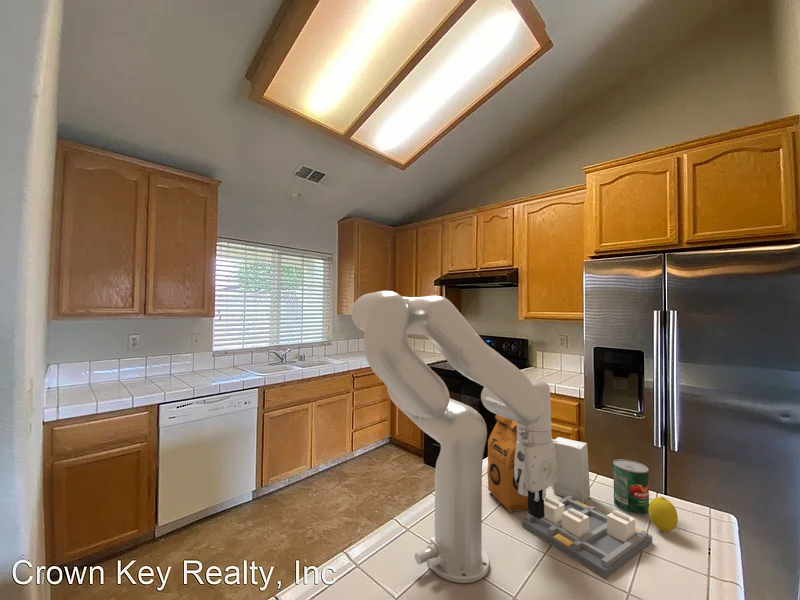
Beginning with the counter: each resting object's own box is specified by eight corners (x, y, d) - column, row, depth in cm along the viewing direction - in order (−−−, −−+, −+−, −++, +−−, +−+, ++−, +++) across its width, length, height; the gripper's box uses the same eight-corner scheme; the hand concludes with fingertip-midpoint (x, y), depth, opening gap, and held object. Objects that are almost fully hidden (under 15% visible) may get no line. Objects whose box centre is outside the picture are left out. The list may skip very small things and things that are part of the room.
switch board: (605, 578, 66) (605, 565, 66) (522, 526, 82) (522, 516, 82) (652, 543, 77) (652, 531, 77) (570, 503, 93) (570, 493, 93)
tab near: (626, 543, 74) (626, 521, 74) (606, 533, 77) (606, 512, 78) (635, 537, 76) (634, 516, 76) (615, 527, 80) (615, 507, 80)
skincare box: (590, 497, 96) (589, 443, 97) (582, 505, 92) (582, 448, 93) (559, 486, 102) (559, 435, 103) (551, 493, 98) (550, 440, 99)
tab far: (554, 527, 80) (554, 506, 80) (539, 518, 83) (539, 498, 83) (564, 521, 82) (564, 501, 82) (549, 513, 85) (549, 494, 85)
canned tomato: (618, 496, 97) (617, 456, 97) (652, 507, 91) (651, 465, 92) (610, 507, 91) (609, 464, 92) (646, 520, 86) (645, 474, 86)
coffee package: (503, 515, 87) (503, 426, 88) (483, 490, 99) (483, 413, 100) (539, 511, 89) (539, 425, 90) (515, 487, 101) (515, 411, 102)
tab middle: (579, 541, 75) (578, 519, 75) (561, 531, 78) (561, 510, 78) (589, 535, 77) (588, 513, 77) (571, 525, 80) (571, 505, 80)
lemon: (649, 521, 85) (648, 488, 85) (678, 530, 81) (677, 496, 82) (647, 532, 81) (647, 497, 81) (678, 542, 77) (677, 506, 77)
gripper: (526, 447, 72) (529, 536, 72) (567, 432, 80) (570, 512, 80) (498, 436, 79) (501, 518, 78) (539, 423, 87) (542, 497, 86)
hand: (536, 515), depth 79 cm, fingers closed
